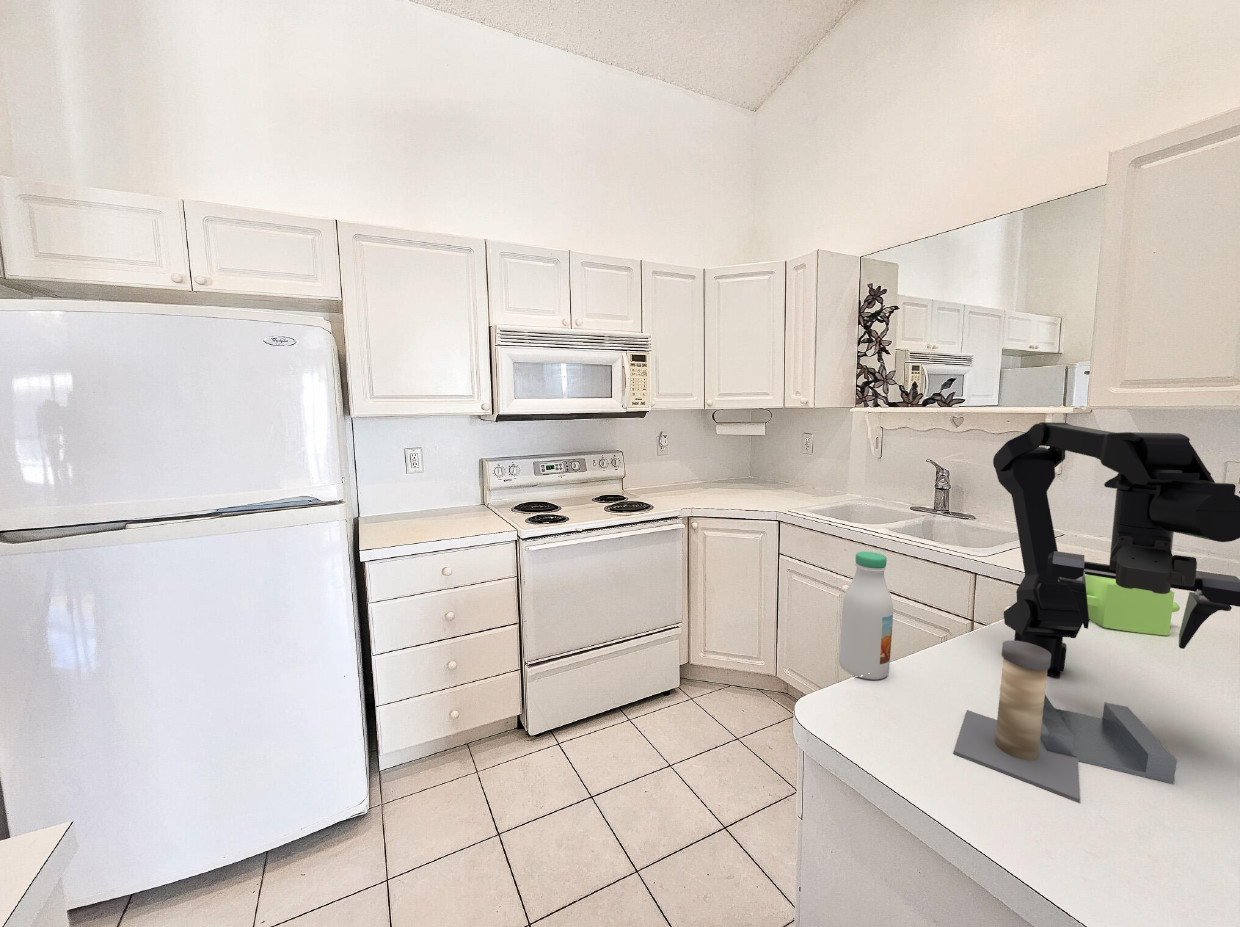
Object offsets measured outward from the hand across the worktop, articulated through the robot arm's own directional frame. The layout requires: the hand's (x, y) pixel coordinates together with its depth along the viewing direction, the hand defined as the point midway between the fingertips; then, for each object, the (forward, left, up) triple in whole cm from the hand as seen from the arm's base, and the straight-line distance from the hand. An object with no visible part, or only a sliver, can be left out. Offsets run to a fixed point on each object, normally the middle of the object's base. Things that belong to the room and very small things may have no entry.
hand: (1131, 637), depth 69 cm
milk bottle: (-32, -8, -13) cm, 35 cm away
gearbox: (+4, +50, -14) cm, 52 cm away
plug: (-11, -17, -13) cm, 23 cm away
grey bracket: (-4, -7, -13) cm, 15 cm away
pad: (-11, -17, -13) cm, 24 cm away
